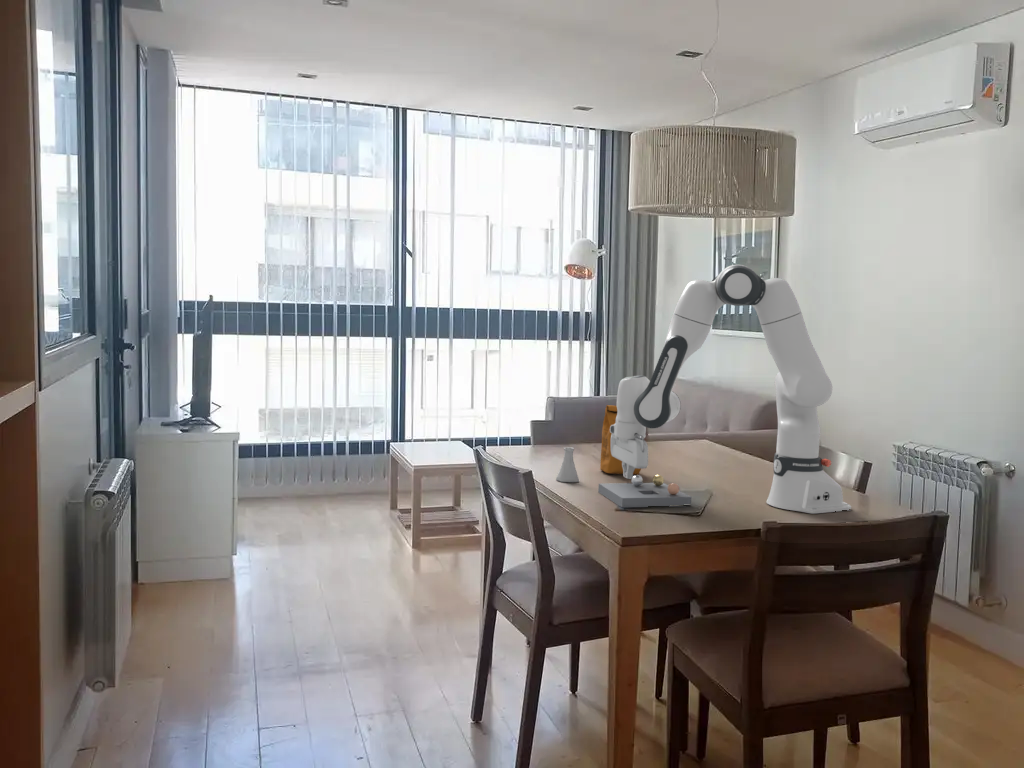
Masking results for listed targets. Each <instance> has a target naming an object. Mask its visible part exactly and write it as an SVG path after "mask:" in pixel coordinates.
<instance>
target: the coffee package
mask: <svg viewBox="0 0 1024 768" xmlns="http://www.w3.org/2000/svg"><path fill="white" fill-rule="evenodd" d="M616 416H617V405H610V404H609V405H608V404H607V405H606V407H605V411H604V417H603V422H602V429H601V447H600V449H601V450H600V466H599V467H600V469H599V470H600V471H602V472H604V473H607V474H611V475H623V467H622V461H621V460H619V459H617V458H615V457H613V456H612V454H611V434H612V433H610V426H611V425H614V424H615V423H616ZM641 470H642V469H638V468H635V470H634V472H633V475H640V473H641Z"/></svg>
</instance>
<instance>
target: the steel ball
mask: <svg viewBox="0 0 1024 768" xmlns="http://www.w3.org/2000/svg"><path fill="white" fill-rule="evenodd" d="M630 480H631V483H632V484H633V485H634V486H640V485H641V484H642V483H644V480H643V477H642V475H640V474H639V475H636V474H634V475H633V477H632V479H630Z"/></svg>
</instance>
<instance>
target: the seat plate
mask: <svg viewBox="0 0 1024 768" xmlns="http://www.w3.org/2000/svg"><path fill="white" fill-rule="evenodd" d="M668 486H669V484H667V483H665V482H664V483H663V484H662V485H661V486H656V485H655V484H654V483H653V482H643V483H642V484H641V485H640V486H634V485H633V484H632V482H625V483H624V482H621V483H619V482H618V483H617V482H616V483H614V482H612V483H611V482H609V483H608V482H607V483H598V488H597V489H598V490H597V491H598V493H599V494H600V495H601V496H603V497H605V498H607V499H608V500H610V501H611V502H613V503H614V504H616V505H617V506H619V507H620V508H649V507H648V506H669V507H671V506H670V505H684V504H691V505H692V496H691V495H688V494H687V493H685V492H682V491H680V490H679V492H678V493H677V494H676V495H672V494H670V493H669V492H668Z"/></svg>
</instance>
